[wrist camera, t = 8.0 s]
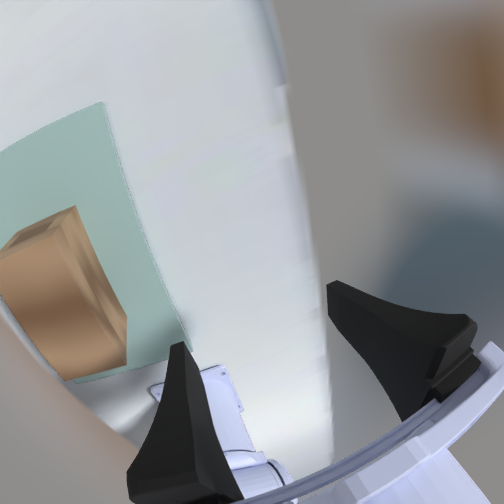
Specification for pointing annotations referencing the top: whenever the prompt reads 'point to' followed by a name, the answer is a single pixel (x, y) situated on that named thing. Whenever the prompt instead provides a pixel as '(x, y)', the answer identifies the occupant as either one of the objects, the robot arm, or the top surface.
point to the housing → (64, 296)
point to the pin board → (92, 222)
